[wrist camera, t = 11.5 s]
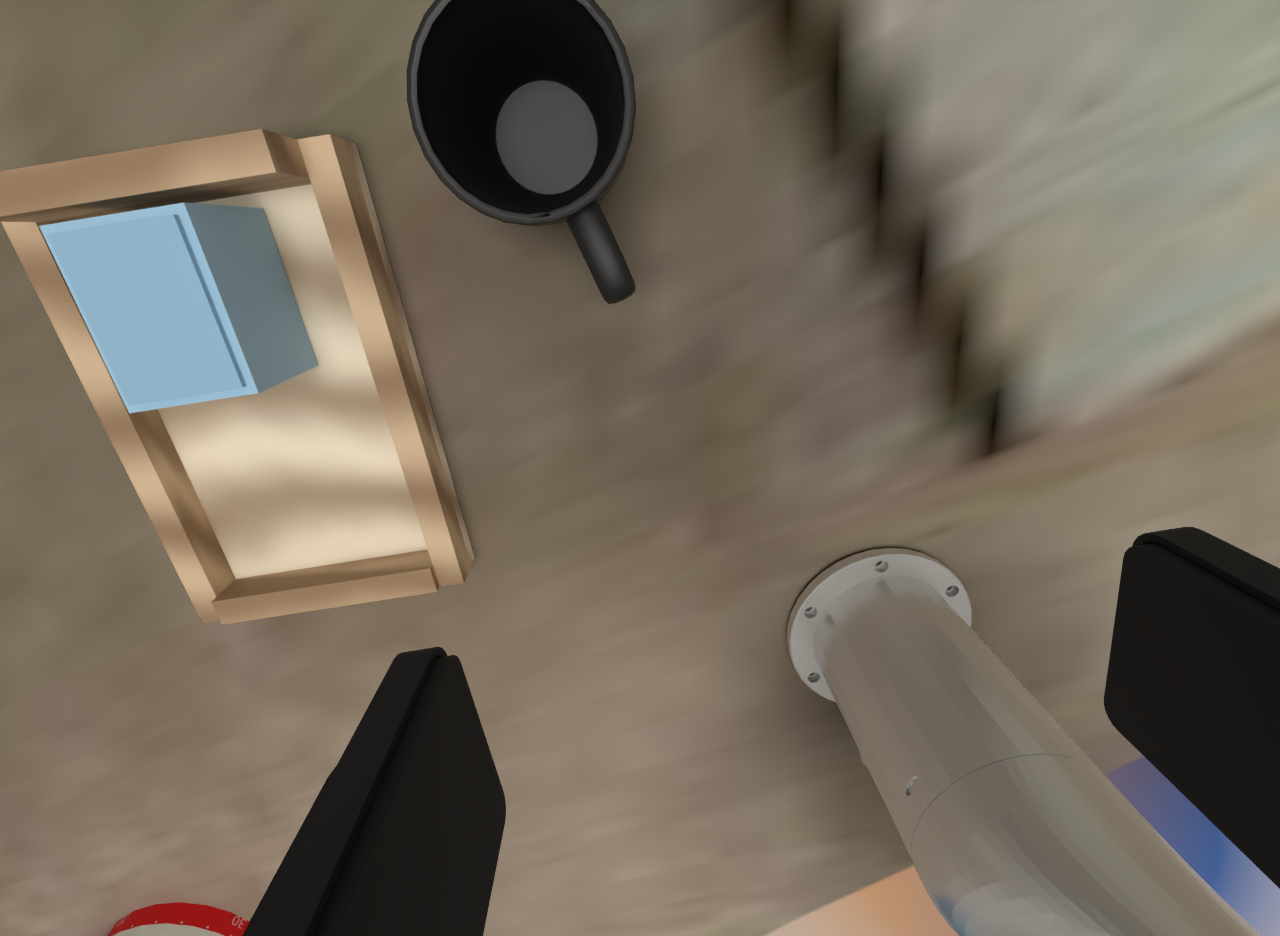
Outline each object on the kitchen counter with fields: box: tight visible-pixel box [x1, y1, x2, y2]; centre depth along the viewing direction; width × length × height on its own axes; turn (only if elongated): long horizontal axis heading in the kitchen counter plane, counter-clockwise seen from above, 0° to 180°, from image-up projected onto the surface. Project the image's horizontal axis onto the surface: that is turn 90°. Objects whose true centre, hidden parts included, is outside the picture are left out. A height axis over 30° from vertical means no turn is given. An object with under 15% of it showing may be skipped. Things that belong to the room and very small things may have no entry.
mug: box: [407, 0, 636, 304], centre depth 27 cm, size 8×12×10 cm
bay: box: [0, 129, 474, 624], centre depth 32 cm, size 24×16×6 cm, turn 8°
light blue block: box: [39, 203, 318, 413], centre depth 29 cm, size 8×6×6 cm
